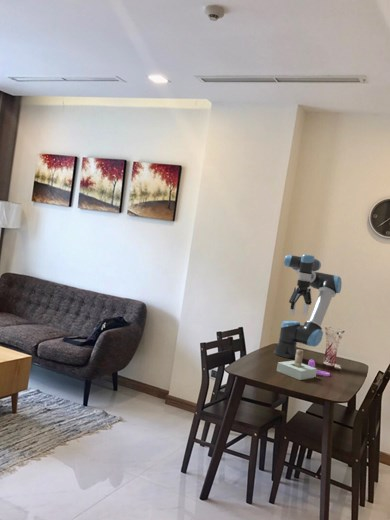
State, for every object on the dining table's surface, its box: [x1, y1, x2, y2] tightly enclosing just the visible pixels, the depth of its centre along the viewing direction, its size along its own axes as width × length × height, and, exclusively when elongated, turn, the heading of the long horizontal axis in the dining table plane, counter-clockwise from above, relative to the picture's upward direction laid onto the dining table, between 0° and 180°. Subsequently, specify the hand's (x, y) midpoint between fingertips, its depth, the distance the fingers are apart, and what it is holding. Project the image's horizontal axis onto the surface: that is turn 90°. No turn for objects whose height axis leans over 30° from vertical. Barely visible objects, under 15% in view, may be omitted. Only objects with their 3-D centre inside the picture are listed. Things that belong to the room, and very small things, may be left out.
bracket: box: [307, 359, 331, 377], centre depth 284 cm, size 13×6×7 cm, turn 78°
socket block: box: [276, 360, 318, 381], centre depth 275 cm, size 16×16×5 cm
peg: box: [294, 348, 304, 368], centre depth 275 cm, size 4×4×14 cm
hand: (298, 314), depth 291 cm, fingers open, 13 cm apart
